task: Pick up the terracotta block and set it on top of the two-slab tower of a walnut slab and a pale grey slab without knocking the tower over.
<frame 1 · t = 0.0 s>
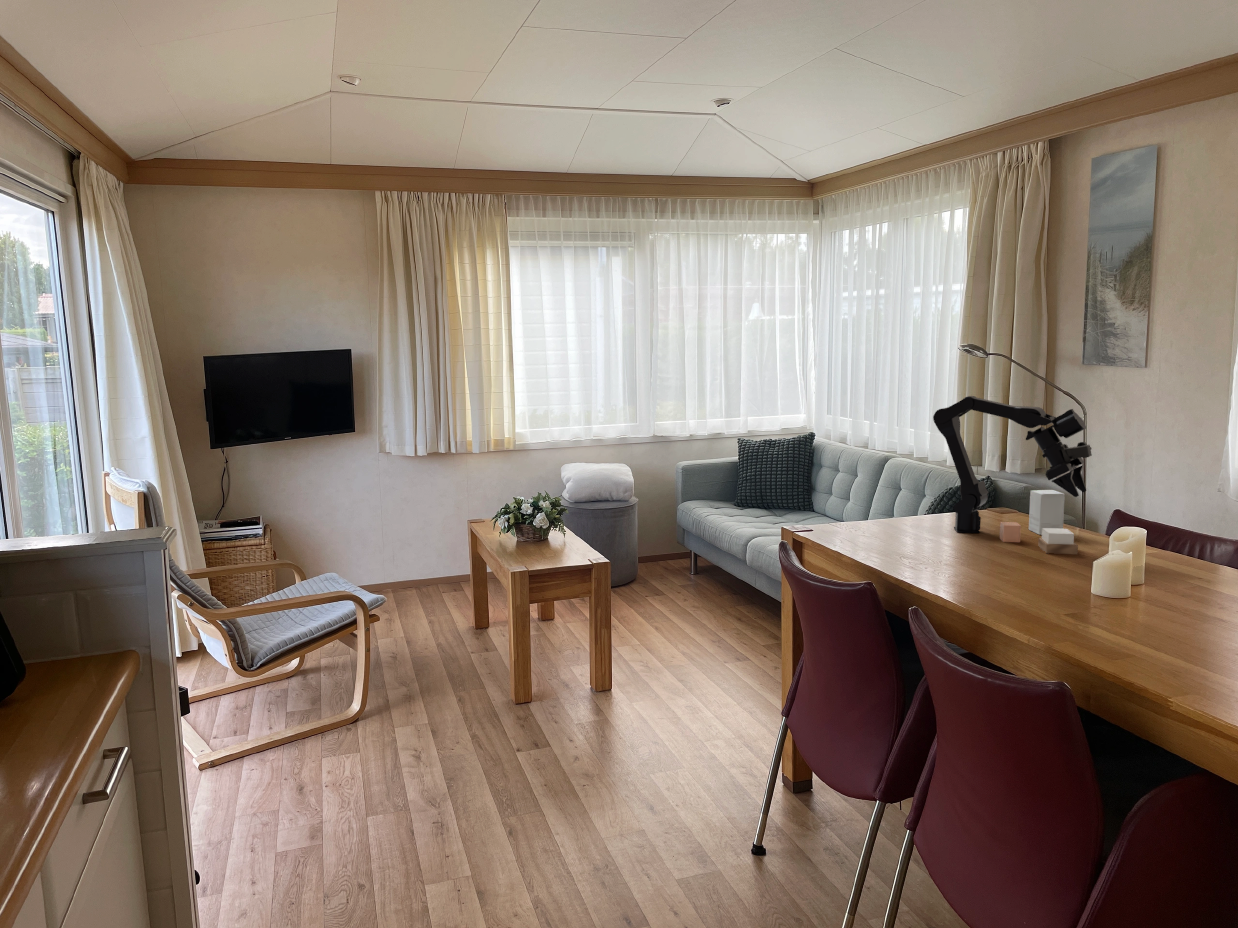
hand: (1081, 493, 245), 15 cm above the table, tool tilted 35°, fingers open, 9 cm apart
terracotta block: (1009, 540, 254), on the table
supplement box: (1045, 532, 263), on the table
walnut slab: (1057, 551, 242), on the table, touching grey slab
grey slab: (1057, 541, 241), point 3 cm above the table, touching walnut slab
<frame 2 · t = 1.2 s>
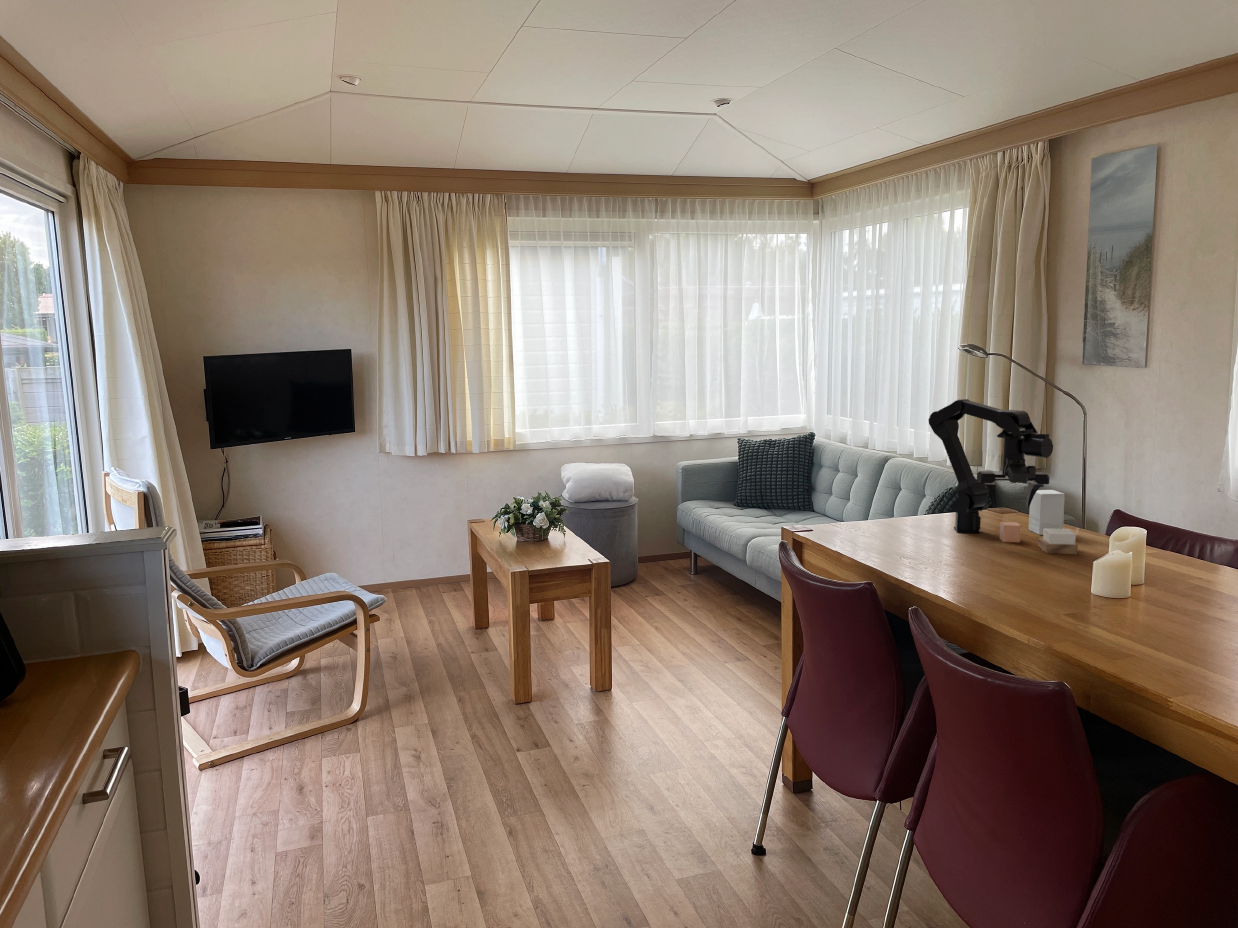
hand: (1011, 506, 253), 10 cm above the table, tool pointing down, fingers open, 9 cm apart
nothing on the table moved.
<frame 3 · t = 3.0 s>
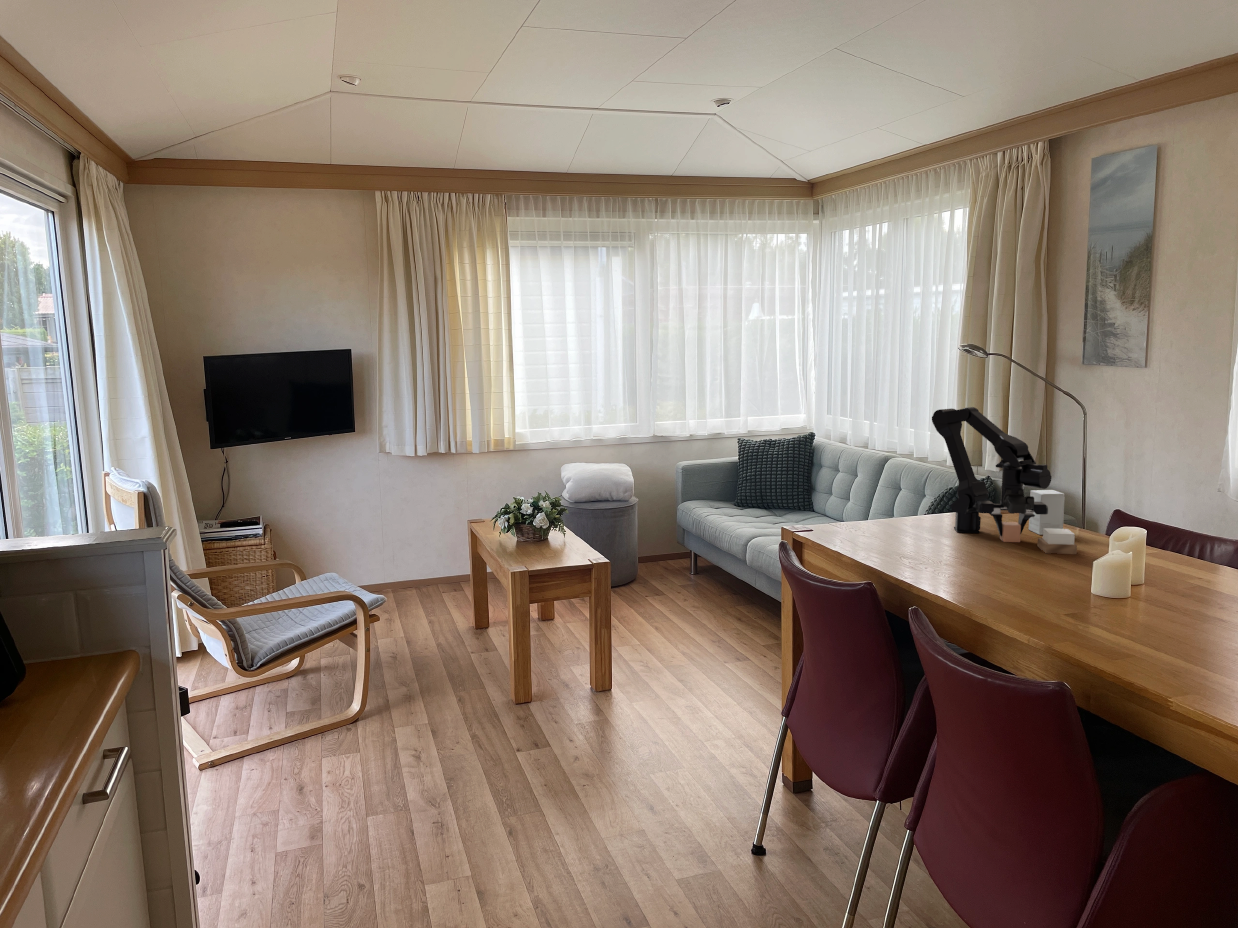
hand: (1009, 536, 254), 1 cm above the table, tool pointing down, fingers closed on terracotta block, 5 cm apart
terracotta block: (1009, 540, 254), on the table, touching gripper
everything else where it was.
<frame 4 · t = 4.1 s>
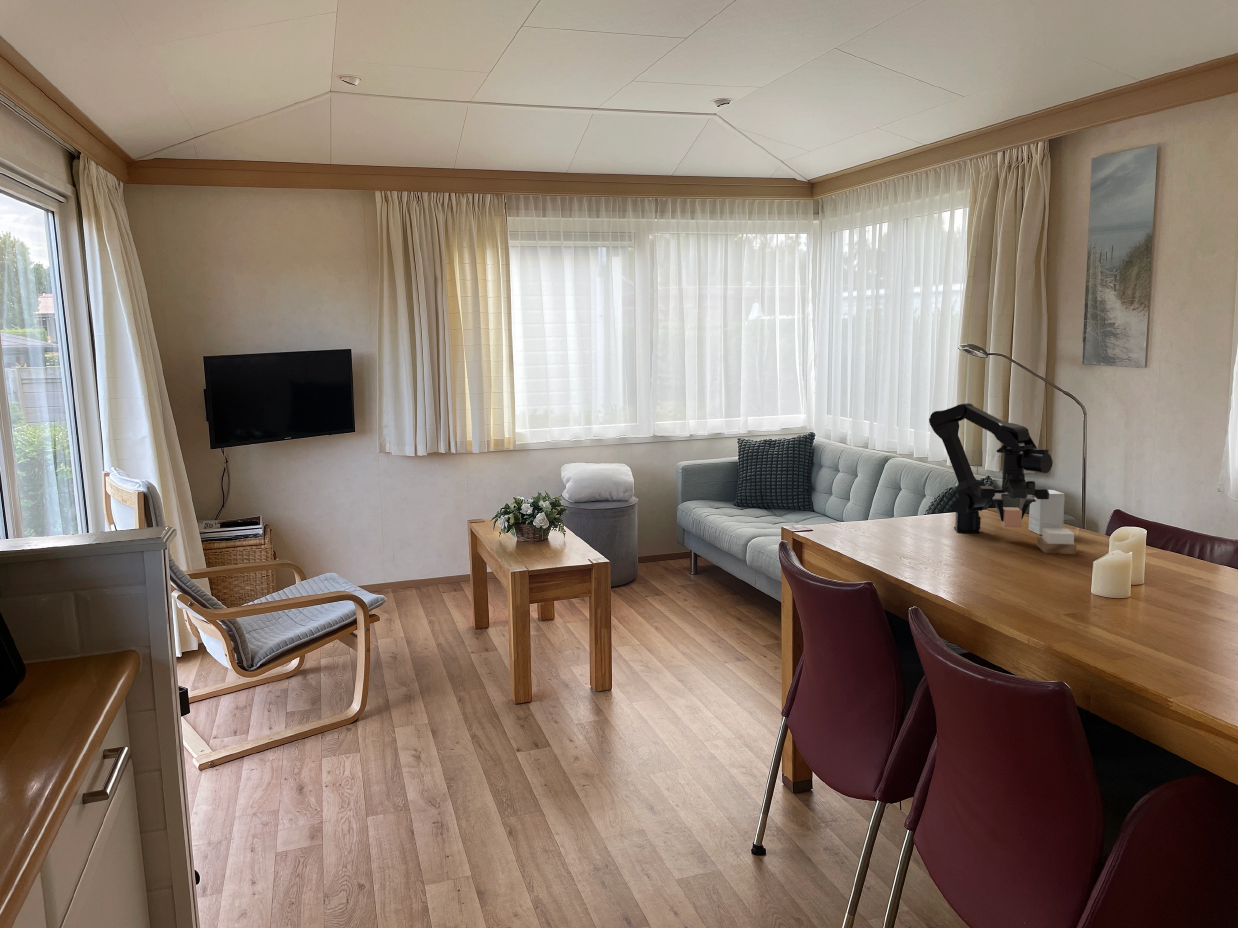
hand: (1010, 521, 253), 6 cm above the table, tool pointing down, fingers closed on terracotta block, 5 cm apart
terracotta block: (1010, 525, 253), point 4 cm above the table, touching gripper
walnut slab: (1055, 551, 242), on the table
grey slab: (1057, 541, 241), point 3 cm above the table
everything else where it was.
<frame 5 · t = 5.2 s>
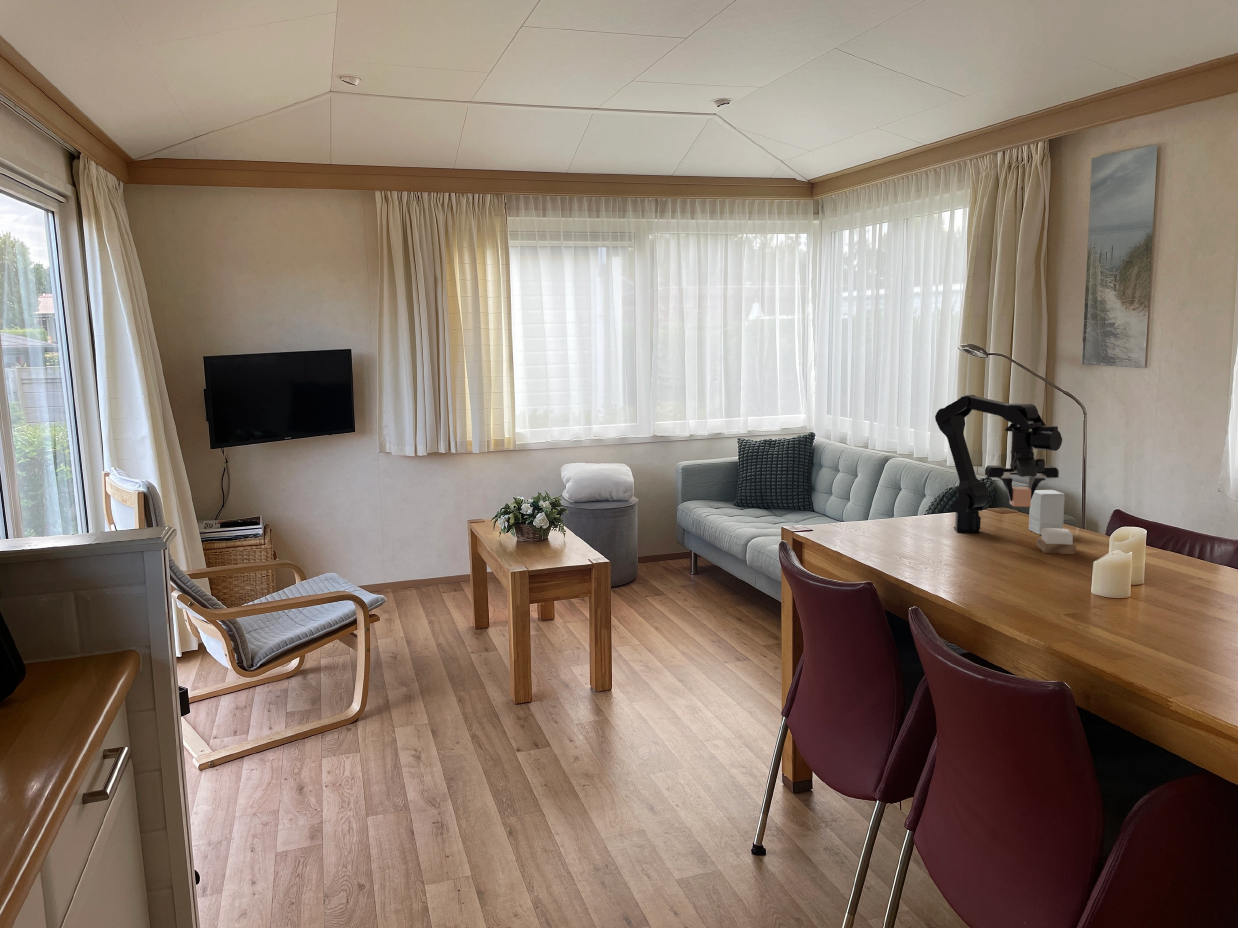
hand: (1020, 500, 250), 12 cm above the table, tool pointing down, fingers closed on terracotta block, 5 cm apart
terracotta block: (1019, 505, 250), point 11 cm above the table, touching gripper
walnut slab: (1055, 551, 242), on the table, touching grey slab
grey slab: (1056, 541, 241), point 2 cm above the table, touching walnut slab
everything else where it was.
when the fingers open (8 cm above the table, at t = 7.9 s): terracotta block drops 2 cm, resting on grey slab.
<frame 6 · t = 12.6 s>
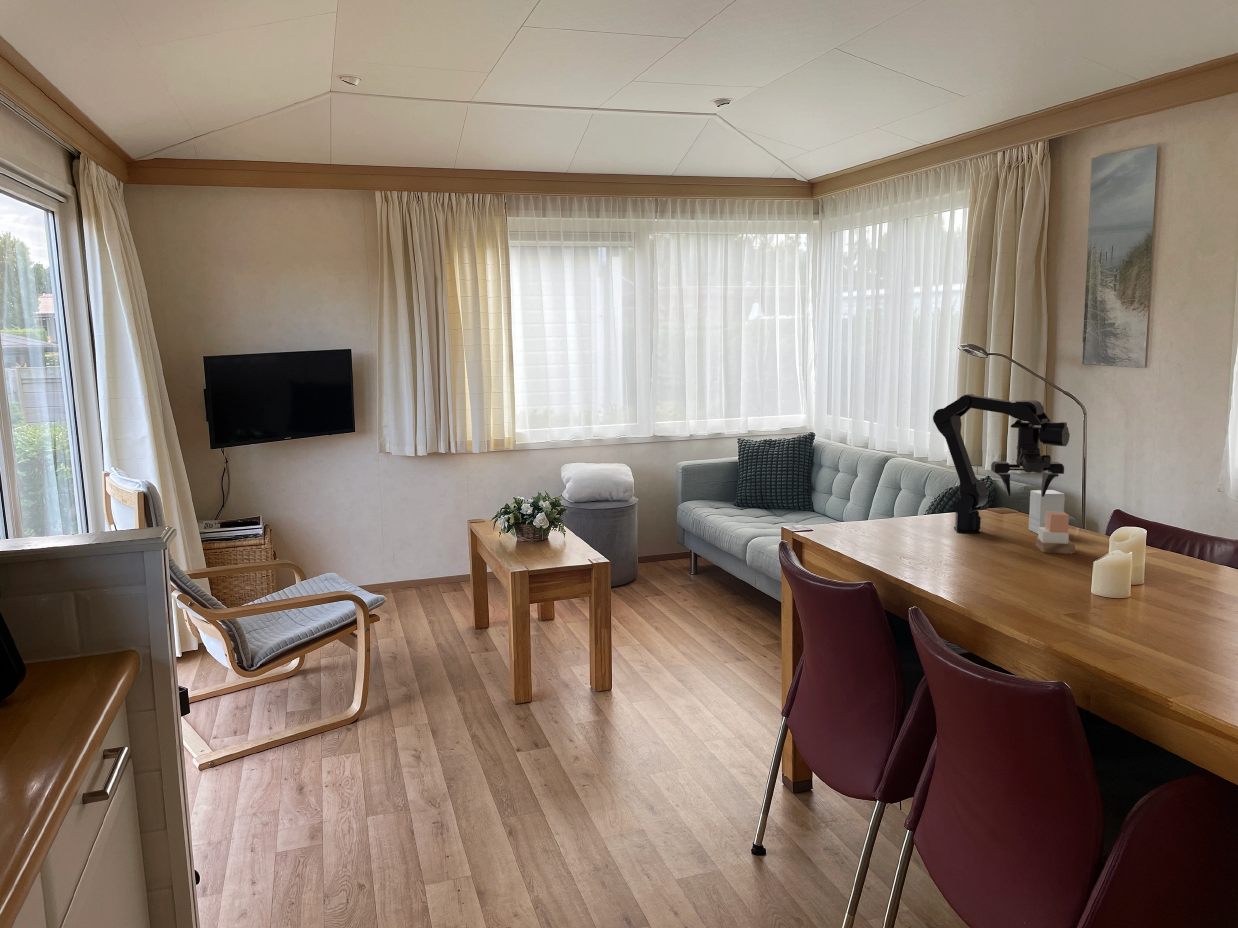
hand: (1025, 496, 252), 13 cm above the table, tool pointing down, fingers open, 9 cm apart
terracotta block: (1056, 530, 241), point 6 cm above the table, touching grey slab
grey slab: (1052, 540, 242), point 3 cm above the table, touching terracotta block, walnut slab
everything else where it was.
at the end: terracotta block 0.7 cm off-centre on the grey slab, point 3.0 cm above the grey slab's base; terracotta block tilted 0°; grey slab 0.5 cm off-centre on the walnut slab, point 3.0 cm above the walnut slab's base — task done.
